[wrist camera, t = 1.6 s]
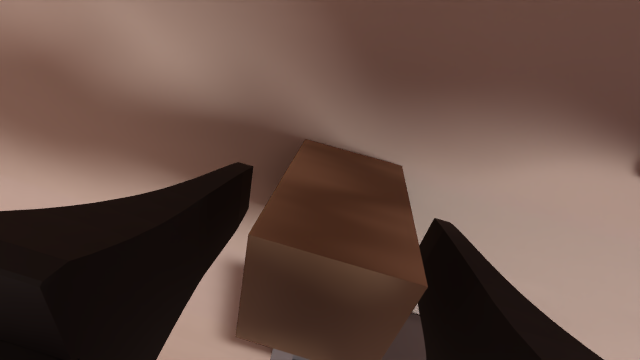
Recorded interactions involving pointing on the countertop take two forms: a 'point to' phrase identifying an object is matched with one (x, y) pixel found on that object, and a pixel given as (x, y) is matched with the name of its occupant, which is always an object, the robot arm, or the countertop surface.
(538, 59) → the countertop surface
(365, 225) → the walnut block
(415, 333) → the well
